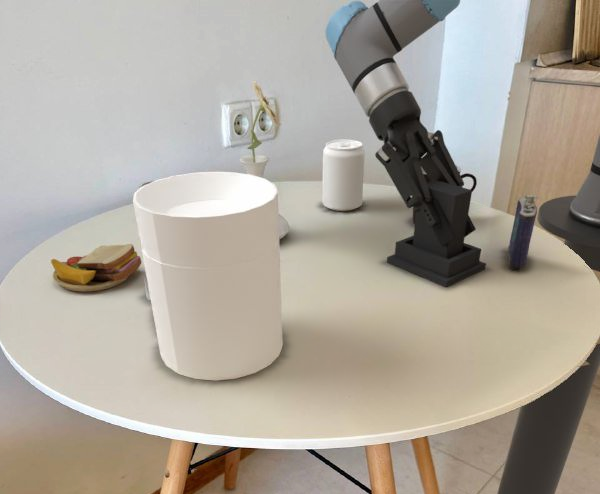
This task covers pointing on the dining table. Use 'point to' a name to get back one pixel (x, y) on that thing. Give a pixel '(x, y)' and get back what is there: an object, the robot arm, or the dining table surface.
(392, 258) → the rectangular socket base
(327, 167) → the beverage can
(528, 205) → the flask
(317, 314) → the dining table surface
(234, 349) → the canister
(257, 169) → the flower in vase
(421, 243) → the upright block
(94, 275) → the toy sandwich meal
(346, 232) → the dining table surface
